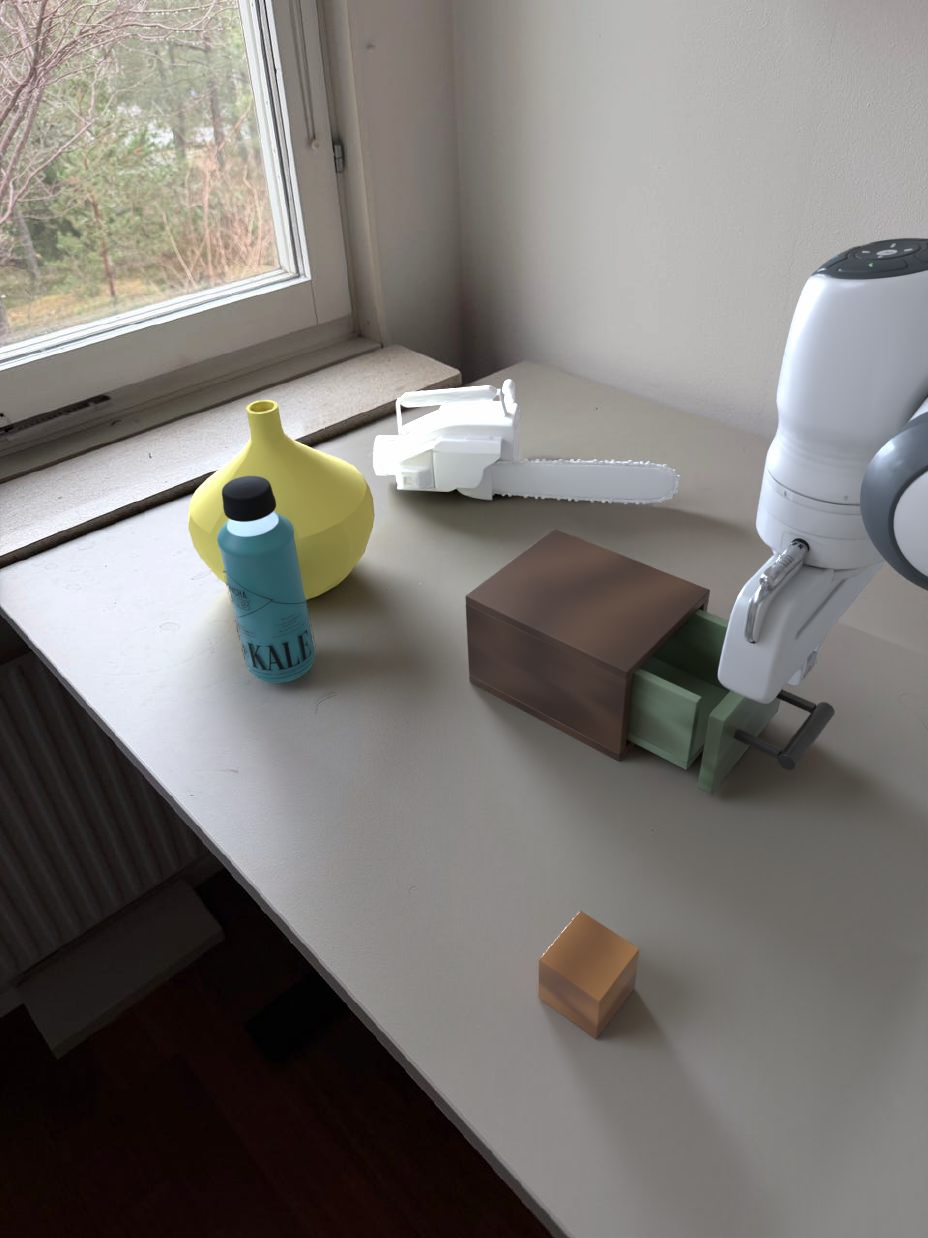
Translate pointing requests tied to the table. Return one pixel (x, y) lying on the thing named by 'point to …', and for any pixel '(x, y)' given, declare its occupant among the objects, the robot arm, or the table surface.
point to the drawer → (707, 707)
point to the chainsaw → (501, 455)
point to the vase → (292, 502)
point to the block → (587, 973)
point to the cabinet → (573, 634)
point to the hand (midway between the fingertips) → (795, 672)
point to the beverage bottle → (265, 582)
